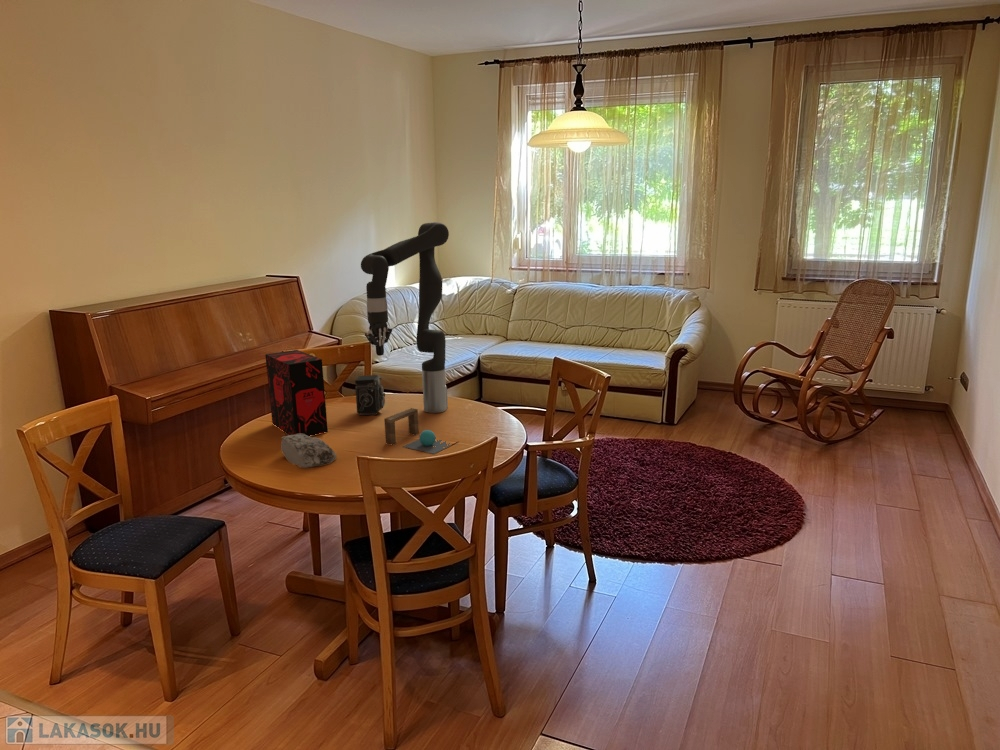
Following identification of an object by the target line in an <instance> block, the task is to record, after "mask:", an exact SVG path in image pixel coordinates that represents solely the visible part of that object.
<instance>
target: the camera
mask: <svg viewBox="0 0 1000 750" xmlns="http://www.w3.org/2000/svg"><path fill="white" fill-rule="evenodd" d="M354 382H355V389H354V390H355V401H356V413H357V415H359V416H364V415H366V416H368V415H374V416H377V414H378V413H379V412H380V411H381V410H382V409H384V407H385V405H386V393H385V392H384V386H383V385H382V384H381V382H382V377H381V375H377V374H371V375H367V374H366V375H359V376H358V377H357V378H356V379H355V381H354Z"/></svg>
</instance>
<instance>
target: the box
mask: <svg viewBox="0 0 1000 750" xmlns="http://www.w3.org/2000/svg"><path fill="white" fill-rule="evenodd" d="M264 356H265V365H266V374H267V385H268V395H269V403H270V412H271V413H270V414H271V415H270V416H271V423H273V424H274V425H276V426H277V427H279V428H280V429H281V430H283V431H284V432H283V431H282V432H283V433H285V432H286V433H287V434H286V433H285V434H286V435H288V434H289V435H294V434H306V435H307V436H310V435H315V434H319V433H323V434H325V433H324V432H328V433H329V431H328V417H327V416H328V415H327V406H326V405H327V403H326V393H325V382H324V380H325V379H324V370H323V369H324V368H323V359H322V358H320V357H317V356H314V355H311V354H309V353H306V352H304V351H301V350H299V349H293V350H287V351H278V352H273V353H267V354H265V355H264ZM273 424H272V425H273ZM274 425H273V426H274ZM277 427H276V428H277ZM280 429H279V430H280ZM281 430H280V431H281ZM319 435H320V434H319ZM315 436H316V435H315ZM310 437H311V436H310Z"/></svg>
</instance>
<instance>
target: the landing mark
mask: <svg viewBox="0 0 1000 750" xmlns="http://www.w3.org/2000/svg"><path fill="white" fill-rule="evenodd" d="M441 441H442V440H439V441H438V440H437V442H436V441H435V442H434V443H433V444H432V445H431V446H424V445H423V444H422V443H421V442H420V439H419V438H418V439H416V440H414V441H412V442H410V443H407V444H404V445H403V446H402V448H404V447H406V448H405V449H409V448H410V450H413V449H414V450H413V451H418V450H419V452H422V451H424V452H423V453H426V452H427V453H428V454H432V455H435V454H438V453H440V452H441V450H442V451H443V450H446V449H448V448H450V447H451V446H450V445H449V444H450V443H449V444H448V446H447V444H446V441H445V442H443V443H441V444H440V442H441ZM433 446H434V447H433ZM435 446H436V447H435ZM449 446H450V447H449ZM443 447H445V448H446V449H445V448H443ZM447 447H448V448H447Z"/></svg>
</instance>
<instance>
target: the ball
mask: <svg viewBox="0 0 1000 750" xmlns="http://www.w3.org/2000/svg"><path fill="white" fill-rule="evenodd" d="M436 437H437V436H436V435H435V433H434V432H433V431H432V430H429V429H426V430H423V431H422V432H421V433H420V434H419V438H418V439H420V442H421V443H422V444H423V445H424V446H431V445H432V444H433V443H434V442H435V439H436Z"/></svg>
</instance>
